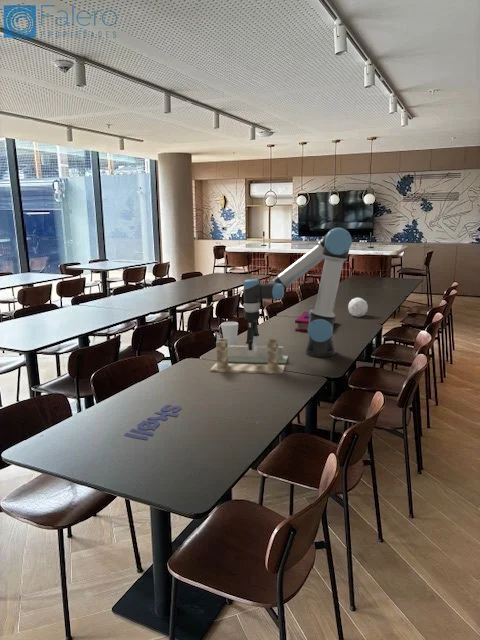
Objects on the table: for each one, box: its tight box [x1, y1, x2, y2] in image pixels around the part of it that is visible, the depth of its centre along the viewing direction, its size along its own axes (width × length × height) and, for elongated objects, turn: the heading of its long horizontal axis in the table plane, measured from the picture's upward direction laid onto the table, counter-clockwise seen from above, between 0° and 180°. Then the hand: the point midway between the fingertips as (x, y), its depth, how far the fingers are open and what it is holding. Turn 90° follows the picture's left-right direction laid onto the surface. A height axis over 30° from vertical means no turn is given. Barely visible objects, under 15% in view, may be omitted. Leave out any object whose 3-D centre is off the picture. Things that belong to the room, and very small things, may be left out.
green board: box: [228, 355, 289, 364], centre depth 239 cm, size 34×10×1 cm, turn 79°
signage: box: [123, 404, 183, 441], centre depth 170 cm, size 28×1×10 cm
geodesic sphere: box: [347, 297, 369, 318], centre depth 331 cm, size 14×14×14 cm
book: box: [294, 311, 336, 333], centre depth 304 cm, size 21×28×8 cm
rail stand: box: [209, 337, 286, 375], centre depth 222 cm, size 34×10×14 cm, turn 79°
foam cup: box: [220, 321, 239, 345], centre depth 264 cm, size 10×9×13 cm
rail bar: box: [228, 344, 284, 359], centre depth 238 cm, size 30×3×6 cm, turn 79°
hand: (253, 352), depth 238 cm, fingers open, 13 cm apart
